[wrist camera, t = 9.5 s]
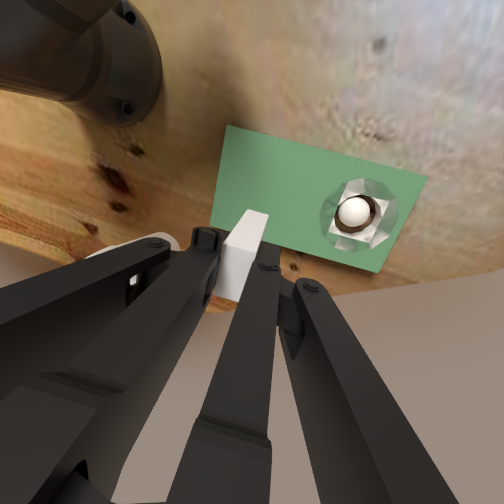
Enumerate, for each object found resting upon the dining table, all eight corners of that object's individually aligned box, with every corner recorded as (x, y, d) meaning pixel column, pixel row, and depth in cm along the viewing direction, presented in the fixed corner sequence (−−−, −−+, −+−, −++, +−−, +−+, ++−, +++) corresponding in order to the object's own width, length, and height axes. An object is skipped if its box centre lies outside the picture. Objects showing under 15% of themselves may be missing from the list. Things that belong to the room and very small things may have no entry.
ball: (331, 215, 32) (364, 213, 30) (337, 192, 34) (368, 188, 31) (340, 232, 35) (370, 232, 32) (345, 211, 37) (374, 208, 34)
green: (214, 221, 39) (209, 225, 37) (231, 126, 33) (226, 124, 31) (372, 266, 38) (378, 273, 35) (418, 175, 32) (428, 176, 30)
